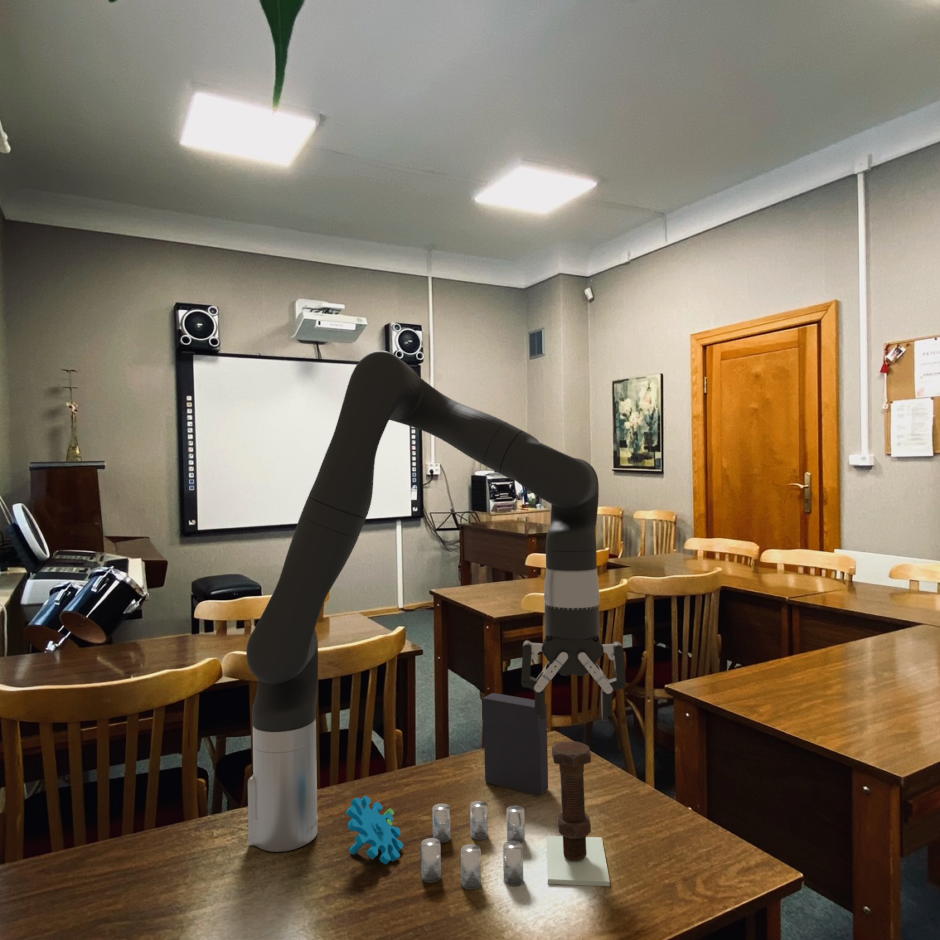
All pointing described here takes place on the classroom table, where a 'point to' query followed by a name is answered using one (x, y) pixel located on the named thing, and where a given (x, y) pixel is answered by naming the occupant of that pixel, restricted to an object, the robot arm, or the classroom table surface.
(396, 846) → the gear
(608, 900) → the classroom table surface
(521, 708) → the dark grey slab
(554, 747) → the bolt
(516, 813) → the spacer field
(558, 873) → the plate
